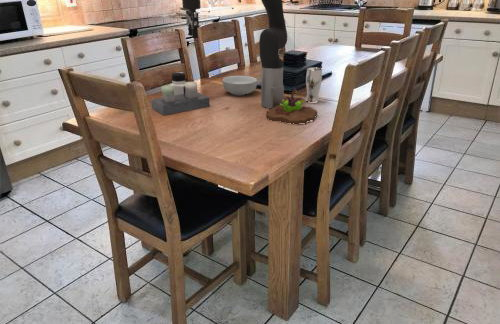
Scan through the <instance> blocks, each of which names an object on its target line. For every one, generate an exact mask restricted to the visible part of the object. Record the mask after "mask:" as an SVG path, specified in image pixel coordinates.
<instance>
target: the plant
mask: <svg viewBox="0 0 500 324" xmlns="http://www.w3.org/2000/svg"><path fill="white" fill-rule="evenodd" d="M296 93H298V90H297V89H293V90H292V92H291V95H290V97H289V96H285V97H284V99H283V100H282V102H283V104H280V105H278V106H276V107H274V108H273V109H271V108H268V109H267V110H266V114H265V118H267V119H266V120H268V119H269V120H268V121H270V120H272V121H271V122H274V121H281V122H280V123H282V122H286V123H285V124H287V123H291V124H293V123H294V124H299V123H306V122H307V121H310V120H313V119H314V118H315V119H316V117H317V116H318V110H316V109H315V108H313V107H310V106H305V105H304V104H303V103H304V102H305V100H304V98H303V97H296V98H295V96H294V94H296ZM294 98H295V99H294ZM316 115H317V116H316ZM315 116H316V117H315ZM315 119H314V120H315ZM306 124H307V123H306Z"/></svg>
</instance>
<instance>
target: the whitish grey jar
mask: <svg viewBox="0 0 500 324" xmlns="http://www.w3.org/2000/svg"><path fill="white" fill-rule="evenodd" d="M185 82H186V83H185V95H186V97H187V98H189V99H190V98H196V97H198V93H199V92H198V90H199V89H198V83H197V81H185Z"/></svg>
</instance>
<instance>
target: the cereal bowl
mask: <svg viewBox="0 0 500 324" xmlns="http://www.w3.org/2000/svg"><path fill="white" fill-rule="evenodd" d="M257 86H258V78H255V77H253V76H247V75H229V76H225V77H223V79H222V87H223V88H224V90H225V91H226V92H228V93H231V94H232V95H233V94H234V96H246V95H245V94H247V95H248V94H250V93H252V92H254V91H255V90H256V88H257Z"/></svg>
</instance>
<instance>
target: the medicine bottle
mask: <svg viewBox="0 0 500 324" xmlns="http://www.w3.org/2000/svg"><path fill="white" fill-rule="evenodd" d="M171 80H172V81H171V82H172V83H170V84H169V85H172V86H174V94H175V95H180V94H185V83H186V82H187V81H186V74H185V73H184V72H180V71H177V72H176V71H175V72H173V73H172V74H171Z"/></svg>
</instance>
